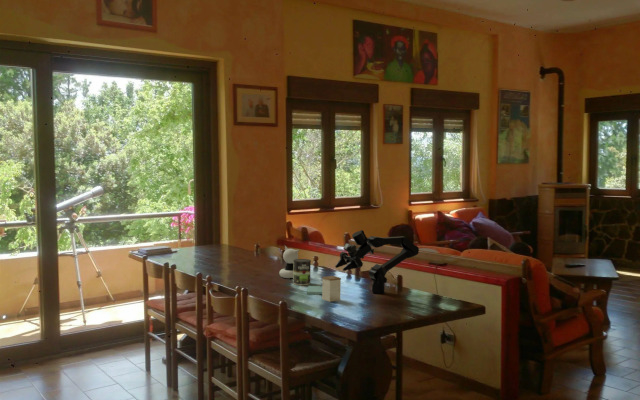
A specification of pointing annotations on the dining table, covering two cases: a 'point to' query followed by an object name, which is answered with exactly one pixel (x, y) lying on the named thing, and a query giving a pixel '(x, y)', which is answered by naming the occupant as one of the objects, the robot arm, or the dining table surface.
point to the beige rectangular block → (331, 288)
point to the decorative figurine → (289, 262)
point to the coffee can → (301, 271)
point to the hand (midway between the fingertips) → (339, 268)
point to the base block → (314, 290)
